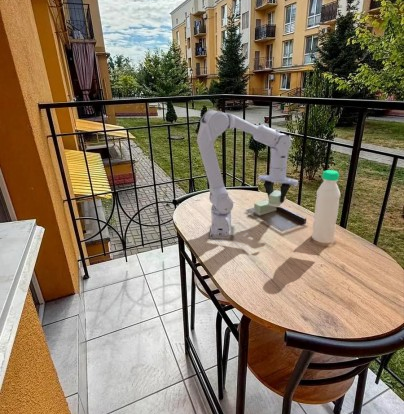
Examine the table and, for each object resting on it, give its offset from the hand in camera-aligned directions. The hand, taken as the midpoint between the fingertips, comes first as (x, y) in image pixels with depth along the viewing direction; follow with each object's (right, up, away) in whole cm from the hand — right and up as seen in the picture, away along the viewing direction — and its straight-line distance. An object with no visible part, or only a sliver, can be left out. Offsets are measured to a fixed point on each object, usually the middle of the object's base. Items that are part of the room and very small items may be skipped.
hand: (276, 200), depth 107 cm
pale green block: (0, -1, 0) cm, 1 cm away
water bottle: (+13, -14, -11) cm, 22 cm away
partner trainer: (-3, -5, +10) cm, 11 cm away
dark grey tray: (+1, -8, +6) cm, 10 cm away
